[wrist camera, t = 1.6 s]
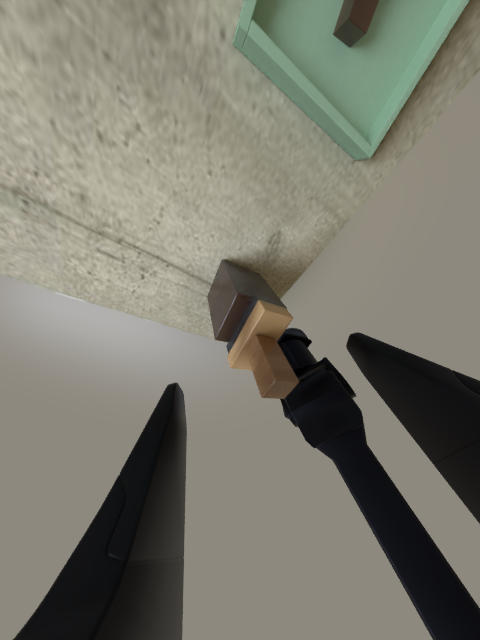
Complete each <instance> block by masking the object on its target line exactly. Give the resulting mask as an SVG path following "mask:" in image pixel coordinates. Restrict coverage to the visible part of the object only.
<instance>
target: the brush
mask: <svg viewBox="0 0 480 640" xmlns="http://www.w3.org/2000/svg"><path fill="white" fill-rule="evenodd" d="M292 319H293V317H292V315H291V314H290V313H289V312H288V310H287V309H286V308H284V307H282V306H281V304H280V303H279V302H278V301H276V300H273V299H270V298H267V297H264V296H261V295H258V294H254V295H253V297H252V299H251V301H250V303H249V304H248V306H247V308H246V310H245V312H244V314H243V316H242V318H241V320H240V321H239V323H238V325H237V327H236V329H235V331H234V333H233V335H232V337H231V338H230V340H229V342H228V344H227V349H228V360H229V365H230V368H236V369H245V370H252V371H253V374H254V377H255V380H256V382H257V386H258V389H259V391H260V394H261V397H262V398H277V399H284V398H285V397H286V396H287V395H288V394H289V393H290V392H291V391H292V390H293V389H294V387H295V386H296V385H297V384H298V383H299V380H298V378H297V377H296V375H295V373H294V371H293V370H292V368H291V366H290V364H289V363H288V361H287V359H286V357H285V355H284V354H283V352H282V350H281V348H280V347H279V345H278V343H277V341H278V339H279V338H280V336H281V335H282V334H283V332H284V331H285V329H286V328H287V326H288V325H289V324H290V322H291V321H292Z"/></svg>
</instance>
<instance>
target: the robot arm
mask: <svg viewBox="0 0 480 640" xmlns="http://www.w3.org/2000/svg"><path fill="white" fill-rule="evenodd" d="M277 343H278V345H279V347H280V348H281V350H282V352H283V354H284V355H285V357H286V359H287V361H288V363H289V364H290V366H291V368H292V370H293V371H294V373H295V375H296V377H297V378H298V380H299V383H298V384H297V385H296V386H295V387H294V389H293V390H292V391H291V392H290V393H289V394H288V395H287V396H286V397H285V398H284V399H280V400H281V403H282V406H283V411H284V415H285V417H286V418H288V419H290V421H291V422H292V423H293V424H294V425H295V427H299V429H300V431H301V432H302V434H303V436H304V438H305V440H306V441H307V442H308V443H309V444H310V445H311V446H312V447H314V448H317V449H319V450H320V451H321V452H322V453H324V454H325V455H326V456H328V457H329V458H330V459H332V460H333V462H334V463H335V465H336V467H337V469H338V470H339V472H340V474H341V475H342V478H343V479H344V481H345V483H346V485H347V487H348V488H349V490H350V492H351V494H352V495H353V497H354V499H355V501H356V503H357V504H358V506H359V508H360V510H361V512H362V513H363V515H364V517H365V519H366V521H367V522H368V524H369V526H370V528H371V529H372V531H373V533H374V535H375V537H376V538H377V540H378V542H379V544H380V545H381V547H382V549H383V551H384V553H385V554H386V556H387V558H388V559H389V562H390V563H391V565H392V567H393V569H394V571H395V572H396V574H397V576H398V578H399V579H400V581H401V583H402V585H403V587H404V588H405V590H406V592H407V594H408V595H409V597H410V599H411V601H412V603H413V605H414V606H415V608H416V610H417V612H418V613H419V615H420V617H421V619H422V621H423V622H424V624H425V626H426V627H427V630H428V631H429V633H430V635H431V637H432V638H433V640H480V608H479V607H478V605H477V604H476V603H475V601H474V600H473V598H472V597H471V595H470V594H469V592H468V591H467V589H466V588H465V586H464V585H463V584H462V582H461V581H460V579H459V578H458V576H457V575H456V573H455V572H454V571H453V569H452V568H451V566H450V565H449V563H448V562H447V560H446V559H445V557H444V556H443V554H442V553H441V551H440V550H439V549H438V547H437V546H436V544H435V543H434V541H433V540H432V538H431V537H430V535H429V534H428V533H427V531H426V530H425V528H424V527H423V525H422V524H421V522H420V521H419V520H418V518H417V517H416V515H415V514H414V512H413V511H412V509H411V508H410V506H409V505H408V503H407V502H406V501H405V499H404V498H403V496H402V495H401V493H400V492H399V490H398V489H397V488H396V486H395V484H394V483H393V482H392V480H391V479H390V477H389V476H388V474H387V473H386V471H385V470H384V468H383V467H382V466H381V464H380V463H379V461H378V460H377V458H376V457H375V455H374V454H373V452H372V451H371V450H370V448H369V447H368V445H367V442H366V435H365V429H364V423H363V416H362V412H361V410H360V408H359V407H358V406H357V404H356V403H355V402H354V400H353V399H352V398H354V397H356V394H355V393H354V391H353V390H352V388H351V387H350V385H349V384H348V383H347V381H346V380H345V379H344V378H343V376H342V375H341V374H340V373H339V372H338V370H337V369H336V368H335V367H334V366H333V365H332V364H331V363H330V361H329V360H328V359H327V358H326V357H325V358H323V359H322V360H321V361H319V362H317V361H316V359H315V358H314V357H313V355H312V354H311V352H310V351H309V350H308V347H309V345H310V344H311V343H312V341H311V340H310V339H307V338H303V337H299V336H294V335H290V334H286V333H285V334H283V335H282V336H281V338H280V339H279V340H278V342H277ZM346 346H347V349H348V351H349V353H350V354H351V356H352V357H353V359H354V361H355V362H356V364H357V365H358V367H359V368H360V370H361V372H362V373H363V374H364V376H365V377H366V378H367V380H368V381H369V382H370V384H371V385H372V386H373V387H374V389H375V390H376V391H377V392H378V394H379V395H380V396H381V398H382V399H383V400H384V401H385V403H386V404H387V405H388V407H389V408H390V409H391V411H392V412H393V413H394V414H395V416H396V417H397V418H398V419H399V421H400V422H401V423H402V425H403V426H404V427H405V428H406V430H407V431H408V432H409V433H410V435H411V436H412V437H413V439H414V440H415V441H416V443H417V444H418V445H419V446H420V448H421V449H422V450H423V452H424V453H425V454H426V455H427V457H428V458H429V459H430V460H431V462H432V463H433V464H434V466H435V467H436V468H437V470H438V471H439V472H440V473H441V475H442V476H443V477H444V479H445V480H446V481H447V482H448V484H449V485H450V486H451V488H452V489H453V490H454V491H455V492H456V494H457V495H458V496H459V498H460V499H461V500H462V501H463V503H464V504H465V505H466V507H467V508H468V509H469V511H470V512H471V513H472V514H473V516H474V517H475V518H476V520H477V521H478V522H479V523H480V381H479V380H476V379H474V378H471V377H469V376H466V375H463V374H461V373H459V372H456V371H453V370H451V369H449V368H446V367H443V366H441V365H438V364H436V363H434V362H431V361H429V360H426V359H423V358H421V357H419V356H416V355H414V354H411V353H408V352H406V351H404V350H401V349H399V348H396V347H394V346H391V345H389V344H386V343H384V342H381V341H379V340H376V339H374V338H371V337H369V336H366V335H364V334H362V333H353V334H351V335H350V336H349V338H348V342H347V345H346ZM186 435H187V427H186V415H185V404H184V394H183V391H182V390H181V388H180V386H179V385H178V383H172V384H169V385H168V386H167V388H166V389H165V391H164V393H163V395H162V396H161V398H160V400H159V402H158V404H157V406H156V408H155V409H154V411H153V413H152V415H151V417H150V419H149V420H148V422H147V424H146V426H145V428H144V430H143V432H142V433H141V435H140V437H139V439H138V441H137V443H136V445H135V446H134V448H133V450H132V452H131V454H130V455H129V457H128V459H127V461H126V463H125V465H124V466H123V468H122V470H121V472H120V475H119V476H118V477H117V479H116V481H115V483H114V485H113V487H112V489H111V490H110V492H109V494H108V495H107V497H106V499H105V501H104V503H103V504H102V506H101V508H100V509H99V511H98V513H97V515H96V516H95V518H94V519H93V521H92V523H91V524H90V526H89V528H88V529H87V531H86V533H85V534H84V536H83V537H82V539H81V541H80V542H79V544H78V545H77V547H76V548H75V550H74V552H73V553H72V555H71V556H70V558H69V560H68V561H67V563H66V565H65V566H64V568H63V569H62V571H61V572H60V574H59V576H58V577H57V579H56V580H55V582H54V584H53V585H52V587H51V588H50V590H49V592H48V593H47V595H46V596H45V598H44V599H43V601H42V602H41V604H40V605H39V606H38V608H37V609H36V611H35V612H34V614H33V615H32V616H31V617H30V619H29V620H28V621H27V623H26V624H25V625H24V627H23V628H22V629H21V631H20V632H19V633H18V634H17V636H16V637H15V638H14V639H13V640H182V618H183V616H182V615H183V573H184V571H183V570H184V558H183V557H184V524H185V481H186V437H187V436H186Z"/></svg>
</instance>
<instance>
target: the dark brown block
mask: <svg viewBox="0 0 480 640" xmlns="http://www.w3.org/2000/svg"><path fill="white" fill-rule="evenodd" d="M254 294H258V295H261V296H264V297H267V298H270V299H273V300H276V301H278V302H279V303H280V304H281V306H282V307H284V308H286V306H285V305H284V304H283V303H282V302H281V300H280V299H279V298H278V296H277V295H276V294H275V293H274V291H273V290H272V289H271V288H270V286H269V285H268V284H267V283H266V281H265V280H264V279H263V278H262V277H261V275H260V274H259V273H256V272H253V271H251V270H248V269H246V268H243V267H241V266H238V265H235V264H233V263H230V262H228V261H225V260H222V261H221V264H220V266H219V269H218V271H217V274H216V276H215V279H214V281H213V284H212V286H211V289H210V292H209V294H208V303H209V308H210V314H211V320H212V325H213V331H214V337H215V340H219V341H224V342H229V340H230V338H231V337H232V335H233V333H234V331H235V329H236V327H237V325H238V323H239V321H240V320H241V318H242V316H243V314H244V312H245V310H246V308H247V306H248V304H249V303H250V301H251V299H252V297H253V295H254ZM286 309H287V308H286Z"/></svg>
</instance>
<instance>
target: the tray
mask: <svg viewBox="0 0 480 640" xmlns="http://www.w3.org/2000/svg"><path fill="white" fill-rule="evenodd" d="M343 1H344V0H244V2H243V6H242V10H241V14H240V18H239V21H238V25H237V29H236V33H235V36H234V40H233V45H234V46H235V47H236V48H237V49H238V50H240V51H241V52H242V53H243V54H244V55H245V56H246V57H247V58H248V59H249V60H250V61H251V62H252V63H253V64H254V65H255V66H256V67H257V68H259V69H260V70H261V71H262V72H263V73H264V74H265V75H266V76H267V77H268V78H269V79H270V80H271V81H272V82H273V83H274V84H275V85H276V86H277V87H279V88H280V89H281V90H282V91H283V92H284V93H285V94H286V95H287V96H288V97H289V98H290V99H291V100H292V101H293V102H294V103H295V104H296V105H297V106H299V107H300V108H301V109H302V110H303V111H304V112H305V113H306V114H307V115H308V116H309V117H310V118H311V119H312V120H313V121H314V122H315V123H316V124H317V125H319V126H320V127H321V128H322V129H323V130H324V131H325V132H326V133H327V134H328V135H329V136H330V137H331V138H332V139H333V140H334V141H335V142H336V143H337V144H339V145H340V146H341V147H342V148H343V149H344V150H345V151H346V152H347V153H348V154H349V155H350V156H351V157H352V158H353V159H354V160H362V159H369V158H371V157H372V155H373V154H374V152H375V150H376V149H377V147H378V146H379V144H380V142H381V141H382V139H383V138H384V136H385V134H386V133H387V131H388V130H389V128H390V126H391V125H392V123H393V122H394V120H395V119H396V117H397V115H398V114H399V112H400V111H401V109H402V107H403V106H404V104H405V103H406V101H407V99H408V98H409V96H410V95H411V93H412V91H413V90H414V88H415V87H416V85H417V83H418V82H419V80H420V79H421V77H422V75H423V74H424V72H425V71H426V69H427V67H428V66H429V64H430V63H431V61H432V59H433V58H434V56H435V55H436V53H437V51H438V50H439V48H440V47H441V45H442V43H443V42H444V40H445V39H446V37H447V35H448V34H449V32H450V31H451V29H452V27H453V26H454V24H455V23H456V21H457V19H458V18H459V16H460V15H461V13H462V11H463V10H464V8H465V7H466V5H467V3H468V2H469V0H379V2H378V5H377V8H376V10H375V13H374V15H373V18H372V21H371V23H370V26H369V29H368V31H367V33H366V35H364V36H363V37H362V38H361V39H360V40H358V41H357V42H356V43H355V44H354V45H353V46H351V47H350V48H349V47H348V46H347V45H345V44H344V43H343V42H342V41H340V40H339V39H338V38H336V37H335V36H334V35H333V33H334V29H335V26H336V23H337V20H338V17H339V14H340V11H341V8H342V4H343Z"/></svg>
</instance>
